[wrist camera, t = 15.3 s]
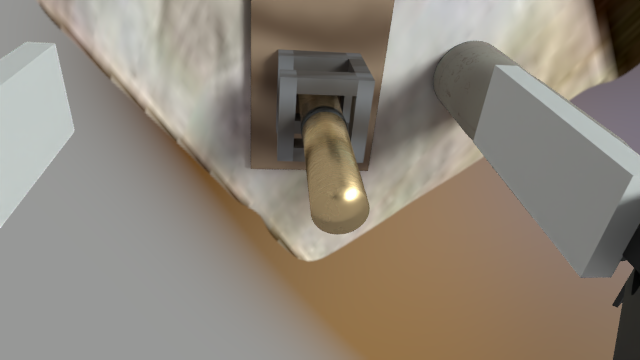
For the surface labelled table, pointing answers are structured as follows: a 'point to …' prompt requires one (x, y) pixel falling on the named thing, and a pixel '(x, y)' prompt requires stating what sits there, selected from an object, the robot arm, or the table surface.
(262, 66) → the collar stand
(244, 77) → the table surface
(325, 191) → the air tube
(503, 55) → the thermos bottle
